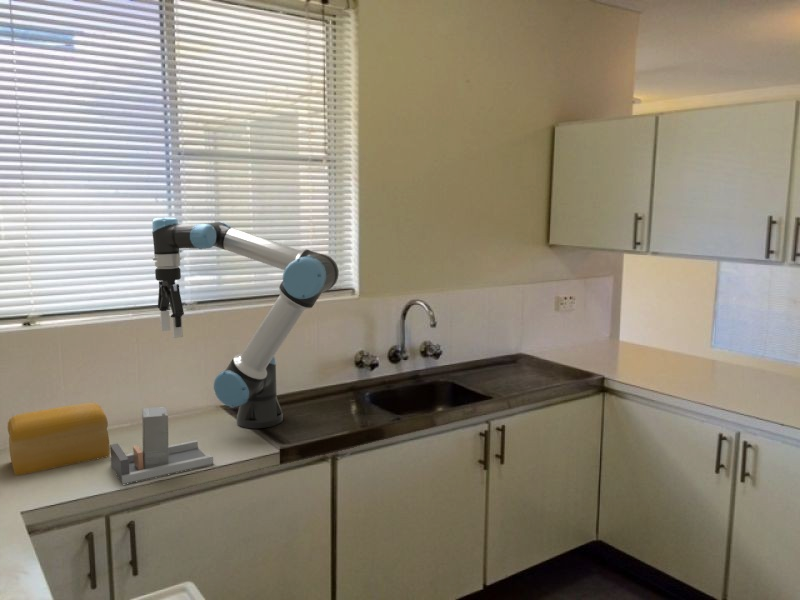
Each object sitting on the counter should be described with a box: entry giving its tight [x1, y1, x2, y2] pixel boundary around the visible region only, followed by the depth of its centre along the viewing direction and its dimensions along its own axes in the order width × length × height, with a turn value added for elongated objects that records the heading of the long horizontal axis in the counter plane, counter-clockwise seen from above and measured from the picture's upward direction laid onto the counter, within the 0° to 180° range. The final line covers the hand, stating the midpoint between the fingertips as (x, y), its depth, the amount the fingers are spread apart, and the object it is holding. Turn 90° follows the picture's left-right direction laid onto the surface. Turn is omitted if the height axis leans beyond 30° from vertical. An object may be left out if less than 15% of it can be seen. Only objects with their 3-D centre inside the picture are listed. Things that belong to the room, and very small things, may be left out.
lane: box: [109, 439, 215, 485], centre depth 187 cm, size 24×16×6 cm, turn 124°
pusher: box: [132, 445, 144, 471], centre depth 183 cm, size 1×6×5 cm, turn 34°
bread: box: [7, 402, 111, 476], centre depth 192 cm, size 24×13×15 cm, turn 124°
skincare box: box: [141, 406, 169, 469], centre depth 185 cm, size 8×7×16 cm
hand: (171, 334), depth 212 cm, fingers open, 13 cm apart
